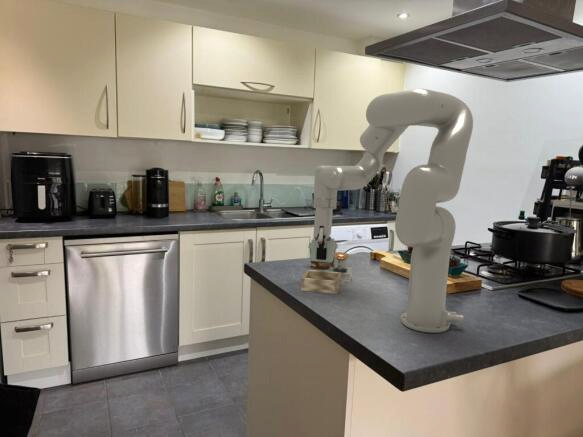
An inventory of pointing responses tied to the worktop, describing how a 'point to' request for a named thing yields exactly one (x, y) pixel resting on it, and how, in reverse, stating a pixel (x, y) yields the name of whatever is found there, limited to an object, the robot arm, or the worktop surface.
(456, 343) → the worktop surface
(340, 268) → the plunger
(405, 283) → the worktop surface
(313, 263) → the food container
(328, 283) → the bay
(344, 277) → the plunger base
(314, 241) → the pale green box
